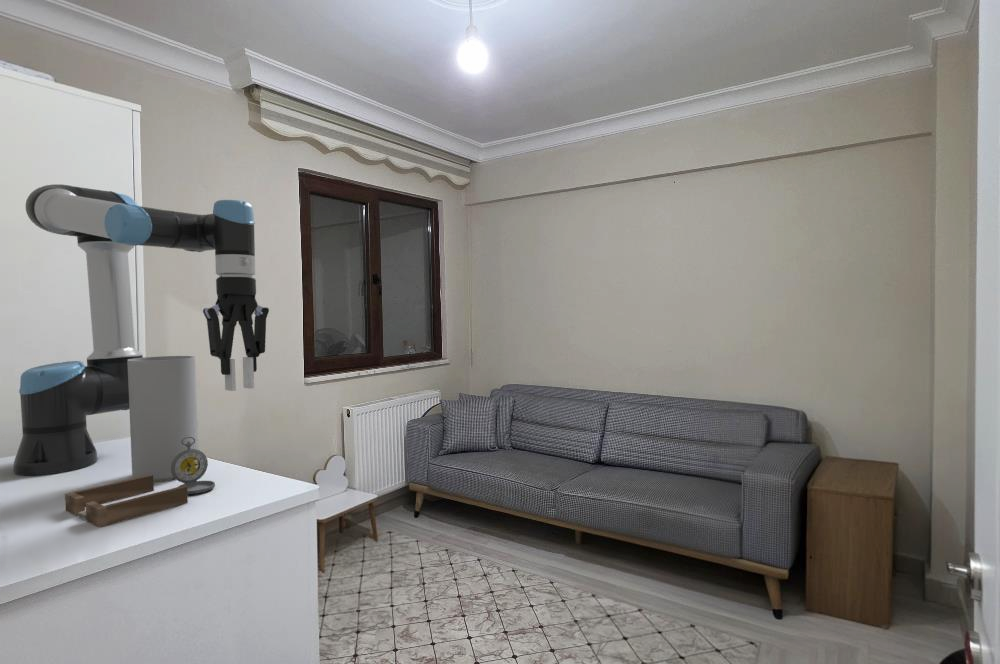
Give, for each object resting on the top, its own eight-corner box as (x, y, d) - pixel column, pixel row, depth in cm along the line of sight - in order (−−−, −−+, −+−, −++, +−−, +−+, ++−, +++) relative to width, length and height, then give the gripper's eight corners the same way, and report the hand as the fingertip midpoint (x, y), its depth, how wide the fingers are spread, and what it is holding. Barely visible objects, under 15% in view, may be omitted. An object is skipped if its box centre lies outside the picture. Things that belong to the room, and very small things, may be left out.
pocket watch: (199, 497, 110) (197, 444, 110) (160, 494, 112) (158, 442, 112) (227, 484, 118) (225, 434, 118) (191, 482, 120) (189, 433, 120)
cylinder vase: (118, 479, 123) (113, 360, 122) (171, 463, 134) (167, 355, 133) (160, 485, 118) (155, 361, 117) (212, 469, 130) (208, 356, 128)
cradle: (65, 510, 104) (64, 493, 104) (150, 489, 115) (150, 474, 115) (99, 527, 95) (98, 509, 95) (187, 502, 107) (187, 486, 107)
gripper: (206, 274, 113) (210, 395, 114) (281, 277, 126) (285, 385, 127) (186, 276, 117) (191, 392, 118) (261, 278, 130) (265, 383, 131)
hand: (239, 388), depth 123 cm, fingers open, 3 cm apart
